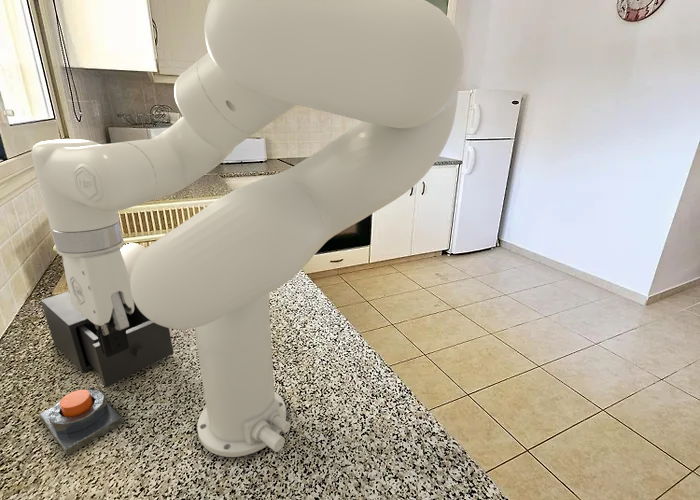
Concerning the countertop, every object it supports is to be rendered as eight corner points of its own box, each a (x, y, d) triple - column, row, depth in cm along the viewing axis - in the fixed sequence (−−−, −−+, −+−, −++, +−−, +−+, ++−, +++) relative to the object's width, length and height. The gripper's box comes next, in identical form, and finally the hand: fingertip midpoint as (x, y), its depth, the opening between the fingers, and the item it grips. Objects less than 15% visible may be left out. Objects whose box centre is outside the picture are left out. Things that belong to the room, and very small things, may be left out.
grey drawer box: (154, 339, 74) (146, 296, 70) (82, 373, 64) (68, 325, 61) (123, 317, 81) (113, 277, 78) (54, 344, 72) (40, 300, 68)
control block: (123, 423, 55) (119, 407, 53) (67, 456, 49) (61, 439, 48) (94, 392, 60) (90, 377, 59) (41, 419, 55) (35, 403, 54)
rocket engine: (65, 278, 76) (132, 234, 91) (51, 299, 83) (116, 255, 97) (111, 316, 79) (168, 268, 93) (94, 334, 86) (150, 286, 100)
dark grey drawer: (177, 356, 68) (170, 319, 65) (109, 391, 59) (98, 350, 56) (140, 329, 75) (133, 295, 73) (75, 357, 67) (64, 320, 64)
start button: (97, 406, 54) (94, 396, 53) (68, 421, 51) (65, 411, 51) (87, 395, 56) (84, 385, 55) (58, 409, 53) (55, 399, 53)
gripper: (35, 231, 51) (67, 343, 58) (80, 259, 43) (111, 386, 49) (96, 219, 57) (119, 323, 63) (146, 242, 48) (166, 358, 55)
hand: (115, 350), depth 56 cm, fingers closed
